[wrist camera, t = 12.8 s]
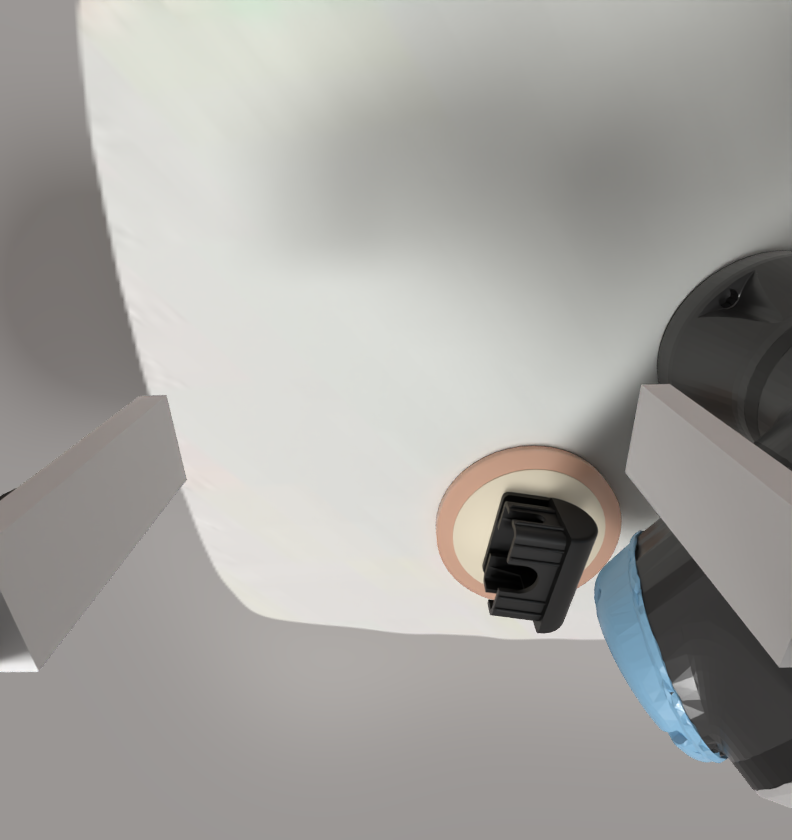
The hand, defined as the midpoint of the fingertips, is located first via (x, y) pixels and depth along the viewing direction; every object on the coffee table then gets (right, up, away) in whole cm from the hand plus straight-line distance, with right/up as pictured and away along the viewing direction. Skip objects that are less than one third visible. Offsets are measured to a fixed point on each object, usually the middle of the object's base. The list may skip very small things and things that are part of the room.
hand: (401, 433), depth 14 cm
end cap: (+12, -10, +32) cm, 36 cm away
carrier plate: (+12, -10, +33) cm, 37 cm away
